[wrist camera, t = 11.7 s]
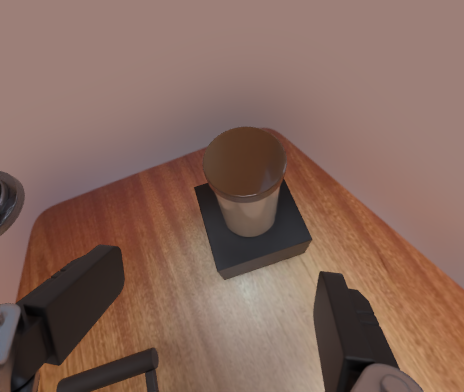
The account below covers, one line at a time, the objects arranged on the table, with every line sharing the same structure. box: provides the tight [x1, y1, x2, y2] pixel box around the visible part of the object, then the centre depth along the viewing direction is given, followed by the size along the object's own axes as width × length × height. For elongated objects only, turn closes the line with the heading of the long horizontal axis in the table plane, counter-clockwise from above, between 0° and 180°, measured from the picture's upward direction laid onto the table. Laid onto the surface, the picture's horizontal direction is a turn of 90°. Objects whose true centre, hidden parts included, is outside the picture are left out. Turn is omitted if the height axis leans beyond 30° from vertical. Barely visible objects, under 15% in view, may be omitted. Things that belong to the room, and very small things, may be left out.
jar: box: [203, 127, 287, 237], centre depth 22 cm, size 6×6×9 cm
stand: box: [194, 179, 312, 280], centre depth 28 cm, size 9×9×5 cm
